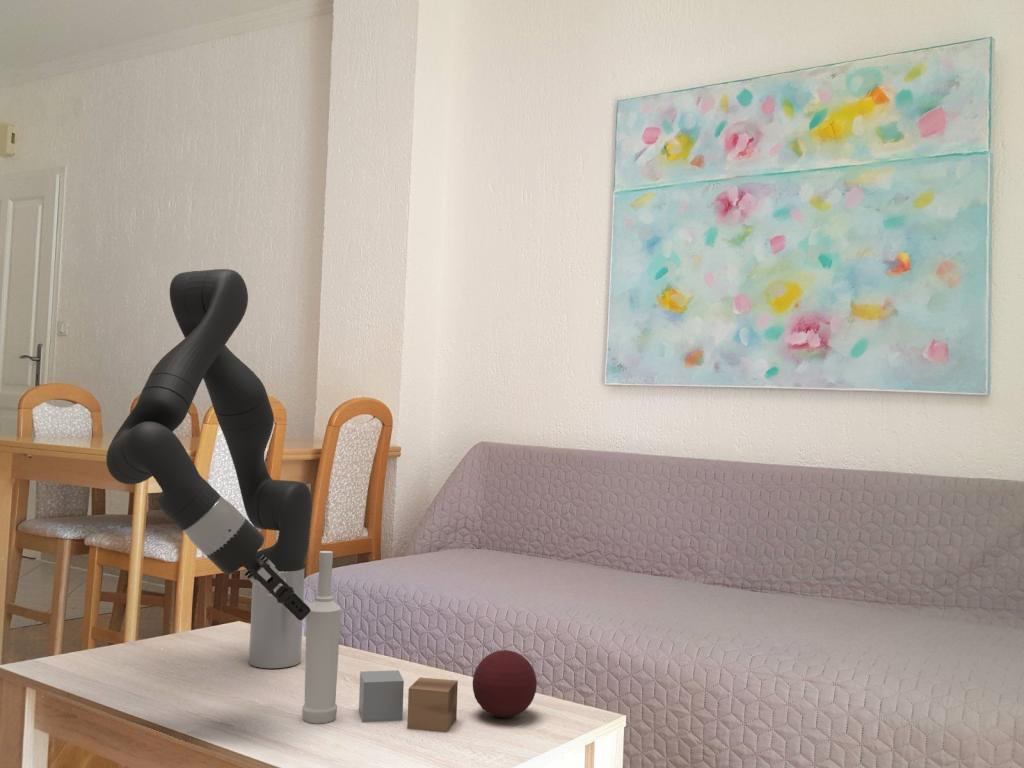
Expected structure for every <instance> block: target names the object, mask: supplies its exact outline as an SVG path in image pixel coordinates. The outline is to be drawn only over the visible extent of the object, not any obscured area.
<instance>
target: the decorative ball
mask: <svg viewBox="0 0 1024 768" xmlns="http://www.w3.org/2000/svg"><path fill="white" fill-rule="evenodd" d="M472 676H473V678H472V692H473V694H474V698H475V700H476V702H477V704H478V705H479V706H480V707H481V709H482V710H483V711H485V712H487V714H489V715H491V716H493V717H496V718H502V719H503V718H504V719H507V718H512V717H516V716H518V715H520V714H522V713H523V712H524V711H526V710H527V709H528V708H529V706H531V704H532V702H533V700H534V699H535V695H536V692H537V686H538V683H537V682H538V681H537V676H536V672H535V670H534V667H533V665H532V664H531V663H530V661H529V660H528V659H527V658H526V657H525V656H524V655H522V654H520V653H518V652H516V651H513V650H508V649H507V650H506V649H504V650H496V651H493V652H492V653H490V654H488V655H486V656H485V657H484V658H483V659H481V660H480V662H479V663H478V665H477V667H476V668H475V671H474V674H473V675H472Z"/></svg>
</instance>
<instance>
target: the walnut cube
mask: <svg viewBox="0 0 1024 768" xmlns="http://www.w3.org/2000/svg"><path fill="white" fill-rule="evenodd" d="M458 683H459V681H458V679H457V680H455V679H454V680H453V679H446V678H445V679H442V678H433V677H432V678H431V677H418V678H417V680H415V681H414V682H413V683H412V684H411V685H410V686H409V687H408V693H407V694H408V697H407V698H408V699H407V700H408V701H407V721H406V722H407V724H406V725H407V726H406V729H407V730H414V731H415V730H416V731H417V730H418V731H425V732H427V731H428V732H437V733H445V734H447V733H448V731H449V730H450V729H451V727H452V726H453V725H454V723H456V721H457V719H458V718H457V713H458V712H457V711H458V690H459V689H458V686H459V685H458Z"/></svg>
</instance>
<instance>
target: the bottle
mask: <svg viewBox="0 0 1024 768" xmlns="http://www.w3.org/2000/svg"><path fill="white" fill-rule="evenodd" d="M333 556H334V552H333V551H331V550H321V551H319V555H318V557H319V558H318V585H317V587H318V588H317V595H316V596H315V597H314V601H312V602H311V603H310V604H309V605H307V606H308V607H309V608H310V613H309V614H308V615H307V616H306V617H305V622H306V623H305V660H304V661H305V662H304V663H305V665H304V669H305V670H304V704H303V705H302V718H303V719H302V720H303V721H304V722H306V723H309V724H317V725H319V724H328V723H330V722H333V721H335V720H336V718H337V712H338V711H337V710H338V705H337V704H336V699H337V683H338V668H339V650H340V647H339V646H340V635H341V633H340V632H341V618H342V617H341V616H342V607H341V606H340V605H339V604H338V603H337V602H336V601H335V599H334V597H333V596H332V579H333V578H332V575H333V561H334V559H333V558H334V557H333Z"/></svg>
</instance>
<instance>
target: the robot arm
mask: <svg viewBox="0 0 1024 768" xmlns="http://www.w3.org/2000/svg"><path fill="white" fill-rule="evenodd" d="M169 300H170V305H171V306H170V307H171V309H172V312H173V314H174V317H175V320H176V323H177V324H178V328H179V329H180V332H181V333H182V334H183V337H184V338H183V339H182V340H181V341H180V342H179V343H178V344H176V345H175V346H174V347H173V348H172V349H170V350H169V351H168V352H167V353H166V354H165V355H163V357H162V358H161V359H159V361H158V362H157V363H156V365H154V367H153V369H152V371H151V372H150V374H149V375H148V378H147V380H146V383H145V385H144V387H143V389H142V391H141V393H140V394H139V398H138V399H137V402H136V404H135V405H134V407H133V409H132V410H131V412H130V413H129V414H128V416H127V417H126V419H125V420H124V421H123V423H122V425H121V426H120V428H119V429H118V431H116V434H115V435H114V437H113V438H112V440H111V442H110V444H109V446H108V449H107V453H106V458H105V459H106V460H105V461H106V467H107V471H108V472H109V474H110V475H111V477H112V478H113V479H115V480H116V481H117V482H119V483H122V484H125V485H137V484H142V483H143V482H145V481H147V480H149V479H151V478H152V477H153V478H154V479H155V481H156V483H157V484H158V486H159V487H160V489H161V492H160V495H159V497H158V499H157V501H158V502H157V503H158V506H159V508H160V509H161V510H162V512H163V513H164V514H165V515H167V516H168V517H169V519H170V520H171V521H172V522H173V523H175V525H177V526H178V527H179V528H180V529H181V531H183V532H184V533H185V535H186V536H187V538H188V539H189V540H190V541H191V543H193V545H194V546H196V547H197V548H198V549H199V550H200V551H201V553H203V555H204V556H206V557H207V558H208V560H209V561H210V562H211V563H213V564H214V565H215V566H216V567H217V568H218V569H219V570H220V571H221V572H222V573H223V574H225V575H231V574H232V575H233V574H235V573H236V572H237V571H239V570H240V569H241V568H245V570H246V571H245V572H244V574H243V575H244V576H245V577H246V578H247V579H248V580H249V581H250V582H251V583H252V585H251V586H252V587H251V605H250V606H251V612H250V630H249V631H250V637H249V659H248V664H249V665H250V666H252V667H255V668H260V669H283V668H290V667H294V666H297V665H299V664H300V663H301V661H302V639H303V620H304V619H306V616H307V615H308V614H309V613H310V608H309V607H308V606H309V605H307V603H305V601H304V591H305V570H306V569H305V566H306V559H307V555H308V551H309V544H310V532H311V521H312V510H313V499H312V493H311V490H310V488H309V486H308V485H307V484H306V483H304V482H301V481H298V480H296V481H295V480H284V479H282V480H281V479H273V478H272V477H271V476H270V474H269V471H268V468H267V465H266V461H265V453H266V449H267V446H268V444H269V440H270V438H271V436H272V433H273V428H274V423H275V416H274V412H273V409H272V405H271V403H270V399H269V396H268V393H267V390H266V387H265V385H264V383H263V381H262V380H261V379H260V378H259V377H258V375H256V373H255V372H254V371H253V370H252V369H251V368H249V366H248V365H246V364H245V363H244V362H243V361H242V360H241V359H240V358H238V357H237V356H236V354H234V353H233V352H232V351H231V350H230V349H229V348H228V346H227V342H229V339H230V338H231V337H232V335H233V334H234V332H235V331H236V330H237V328H238V327H239V325H240V323H241V321H242V320H243V318H244V317H245V315H246V312H247V309H248V303H249V293H248V288H247V284H246V281H245V280H244V278H243V276H242V275H241V274H240V273H239V272H238V271H236V270H234V269H229V268H219V269H217V268H214V269H208V270H193V271H192V270H191V271H184V272H180V273H177V274H176V275H174V277H173V278H172V279H171V282H170V285H169ZM202 381H203V382H204V384H205V388H206V390H207V393H208V394H209V395H208V396H209V398H210V401H211V405H212V407H213V411H214V414H215V416H216V419H217V422H218V426H219V427H220V430H221V431H222V434H223V437H224V440H225V443H226V445H227V448H228V451H229V453H230V458H231V460H232V463H233V467H234V470H235V474H236V478H237V482H238V485H239V490H240V494H241V499H242V504H243V506H244V509H245V510H244V511H245V513H246V515H247V517H245V516H244V515H243V514H242V513H241V512H240V511H239V510H238V509H237V508H236V507H235V506H234V505H233V504H232V503H230V502H229V501H228V500H227V499H225V498H224V497H223V496H222V495H220V493H219V492H217V490H216V489H215V488H214V487H212V486H211V484H209V482H208V481H207V480H206V479H205V478H203V477H202V476H201V474H200V473H199V471H198V469H197V467H196V465H195V463H194V462H193V460H192V458H191V457H190V454H189V453H188V452H187V450H186V448H185V447H184V444H182V442H181V440H180V438H178V437H177V435H176V434H175V433H174V431H175V430H176V429H177V428H178V427H180V425H181V424H182V423H183V421H184V420H185V419H186V416H187V415H188V412H189V410H190V408H191V406H192V404H193V401H194V398H195V396H196V394H197V391H198V389H199V387H200V385H201V384H202ZM247 518H248V519H247ZM257 528H258V529H260V530H268V531H277V532H278V537H277V540H276V542H275V543H274V544H273V545H272V546H269V547H266V548H263V549H261V548H262V546H263V545H264V542H265V537H264V535H263V534H262V533H261V532H260V531H259V530H258V529H257ZM260 549H261V550H260Z"/></svg>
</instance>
